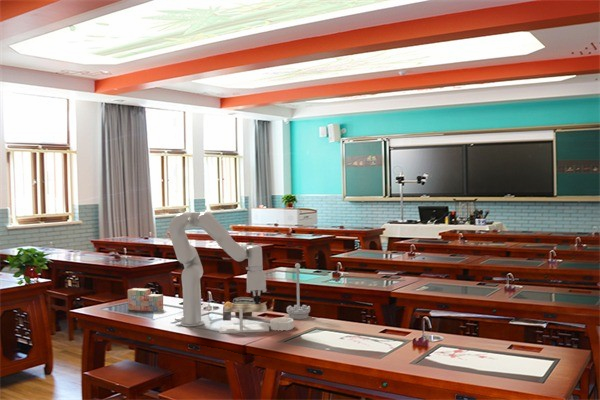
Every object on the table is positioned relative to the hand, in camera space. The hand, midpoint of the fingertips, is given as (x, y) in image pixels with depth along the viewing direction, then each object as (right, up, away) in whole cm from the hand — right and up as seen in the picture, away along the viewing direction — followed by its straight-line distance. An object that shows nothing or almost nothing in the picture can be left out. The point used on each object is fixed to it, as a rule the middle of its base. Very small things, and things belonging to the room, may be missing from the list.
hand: (257, 303), depth 314 cm
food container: (-9, -11, +20) cm, 24 cm away
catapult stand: (-6, -11, -12) cm, 18 cm away
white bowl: (+14, -11, -10) cm, 20 cm away
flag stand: (+22, -10, +15) cm, 29 cm away
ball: (-14, +1, -13) cm, 19 cm away
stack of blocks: (-70, -11, +40) cm, 81 cm away
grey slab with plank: (-6, -6, -7) cm, 11 cm away
